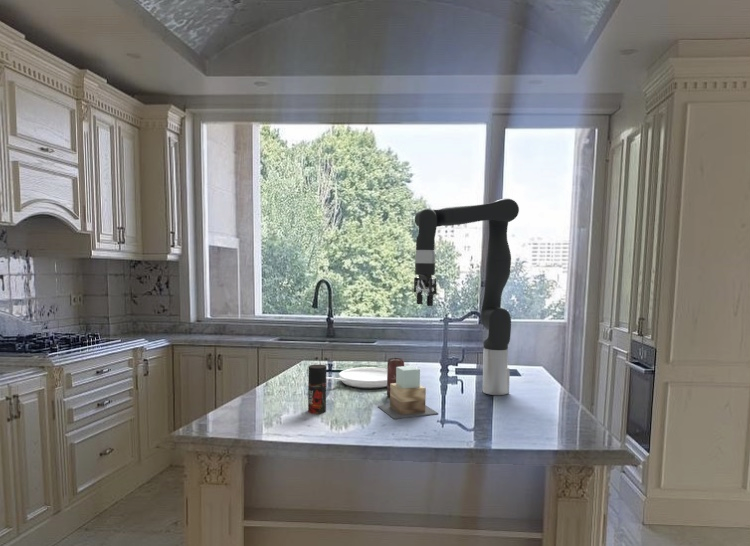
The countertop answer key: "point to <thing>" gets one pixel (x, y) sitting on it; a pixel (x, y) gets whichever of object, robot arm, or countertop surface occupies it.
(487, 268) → the robot arm
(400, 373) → the cube
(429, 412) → the mat
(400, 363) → the can
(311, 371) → the deodorant
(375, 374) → the pan
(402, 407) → the block bottom
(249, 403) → the countertop surface
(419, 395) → the block top
